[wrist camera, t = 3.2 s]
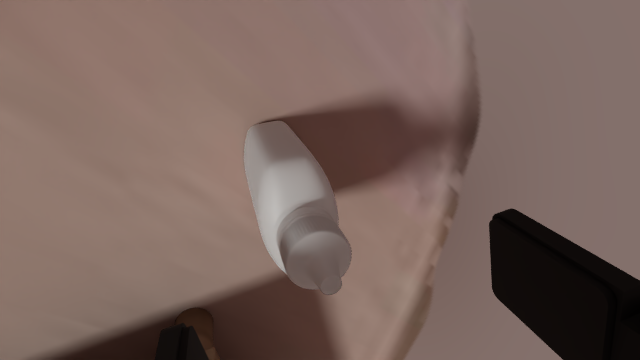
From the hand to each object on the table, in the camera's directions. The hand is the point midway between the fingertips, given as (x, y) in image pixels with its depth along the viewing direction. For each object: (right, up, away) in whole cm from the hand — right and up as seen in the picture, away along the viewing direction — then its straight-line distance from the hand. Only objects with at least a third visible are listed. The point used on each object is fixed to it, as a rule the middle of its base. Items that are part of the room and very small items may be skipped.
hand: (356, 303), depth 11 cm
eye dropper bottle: (-4, +5, +11) cm, 13 cm away
